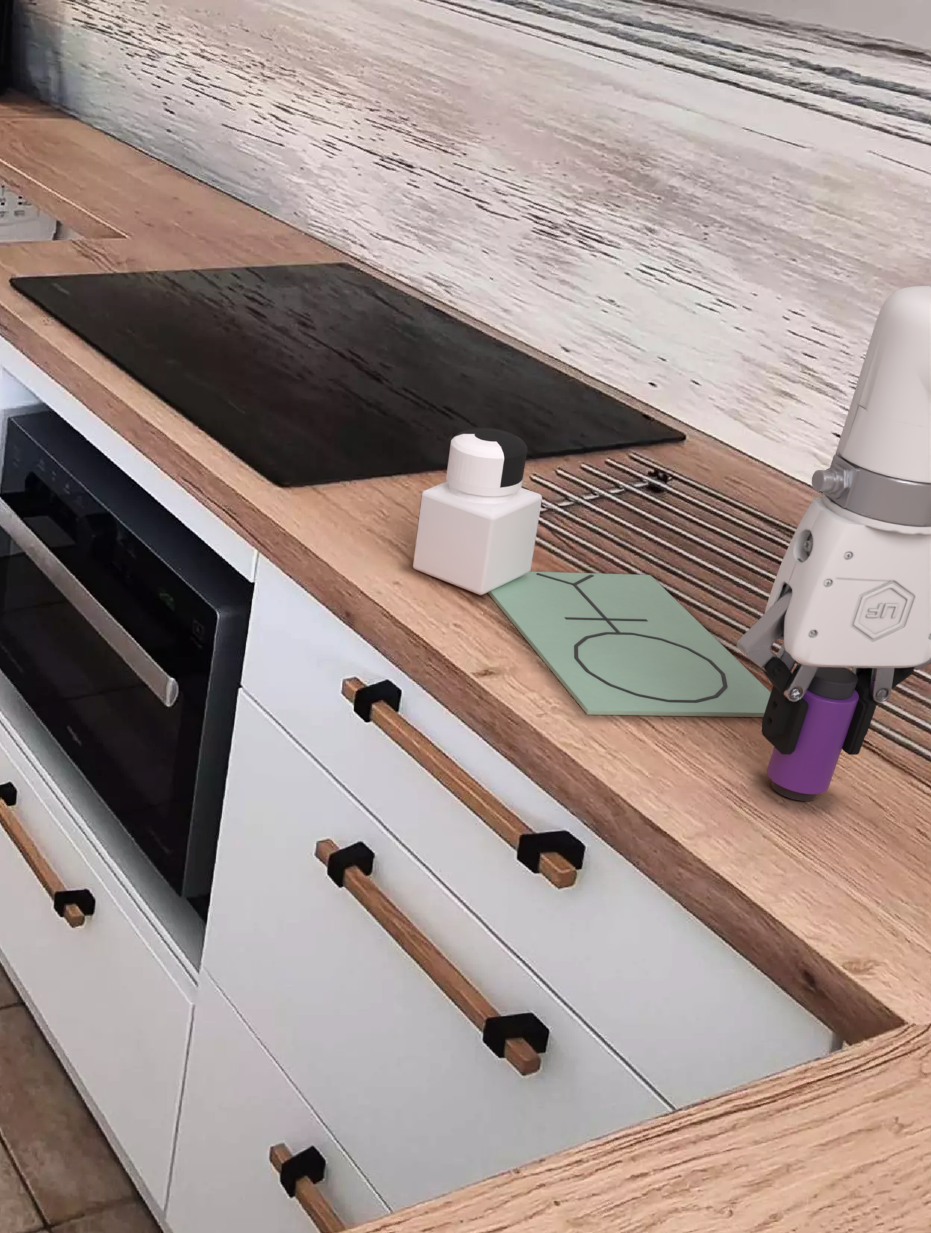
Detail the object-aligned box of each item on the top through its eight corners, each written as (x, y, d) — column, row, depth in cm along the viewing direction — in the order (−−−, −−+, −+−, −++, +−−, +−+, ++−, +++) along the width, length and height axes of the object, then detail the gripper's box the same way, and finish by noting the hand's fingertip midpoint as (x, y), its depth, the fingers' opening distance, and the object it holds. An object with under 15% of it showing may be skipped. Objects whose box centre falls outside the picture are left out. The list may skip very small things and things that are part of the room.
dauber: (825, 783, 121) (864, 667, 117) (824, 810, 117) (865, 692, 113) (764, 768, 122) (800, 653, 118) (762, 795, 119) (799, 677, 114)
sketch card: (790, 717, 130) (792, 712, 129) (587, 714, 127) (588, 709, 127) (649, 578, 150) (650, 574, 150) (471, 574, 148) (472, 569, 148)
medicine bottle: (461, 546, 152) (479, 414, 146) (531, 573, 147) (553, 438, 142) (410, 569, 148) (427, 434, 142) (481, 597, 143) (501, 459, 137)
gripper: (798, 510, 105) (719, 773, 113) (1050, 517, 108) (954, 773, 116) (738, 464, 112) (667, 716, 120) (977, 472, 114) (891, 718, 123)
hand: (809, 742), depth 118 cm, fingers closed on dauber, 4 cm apart
